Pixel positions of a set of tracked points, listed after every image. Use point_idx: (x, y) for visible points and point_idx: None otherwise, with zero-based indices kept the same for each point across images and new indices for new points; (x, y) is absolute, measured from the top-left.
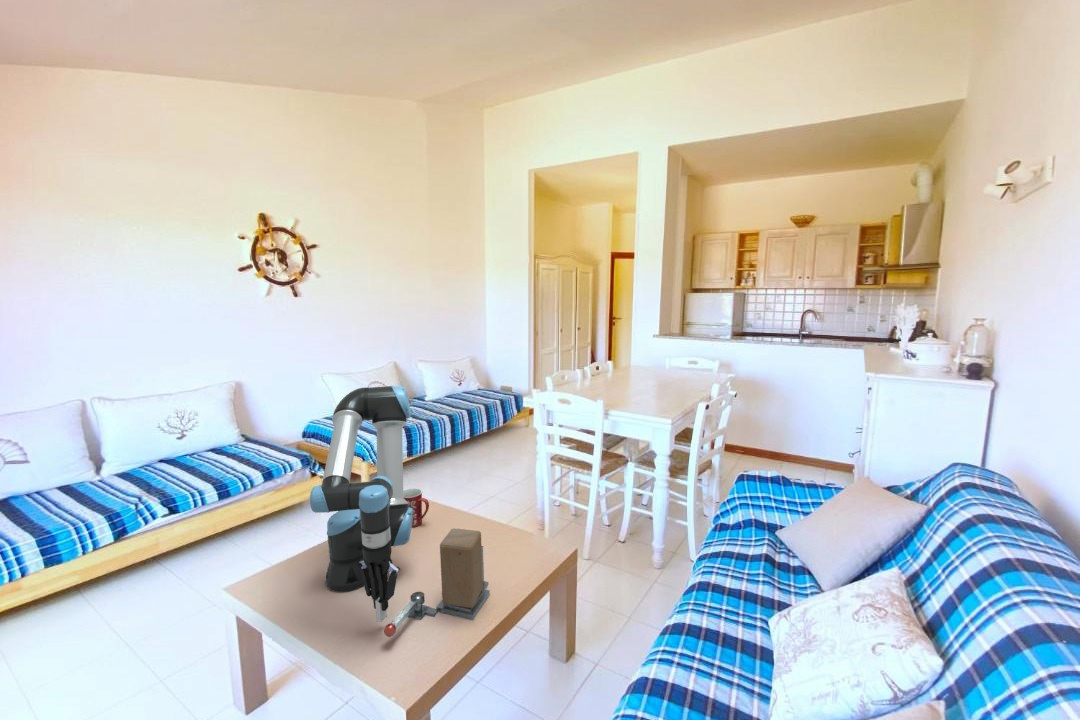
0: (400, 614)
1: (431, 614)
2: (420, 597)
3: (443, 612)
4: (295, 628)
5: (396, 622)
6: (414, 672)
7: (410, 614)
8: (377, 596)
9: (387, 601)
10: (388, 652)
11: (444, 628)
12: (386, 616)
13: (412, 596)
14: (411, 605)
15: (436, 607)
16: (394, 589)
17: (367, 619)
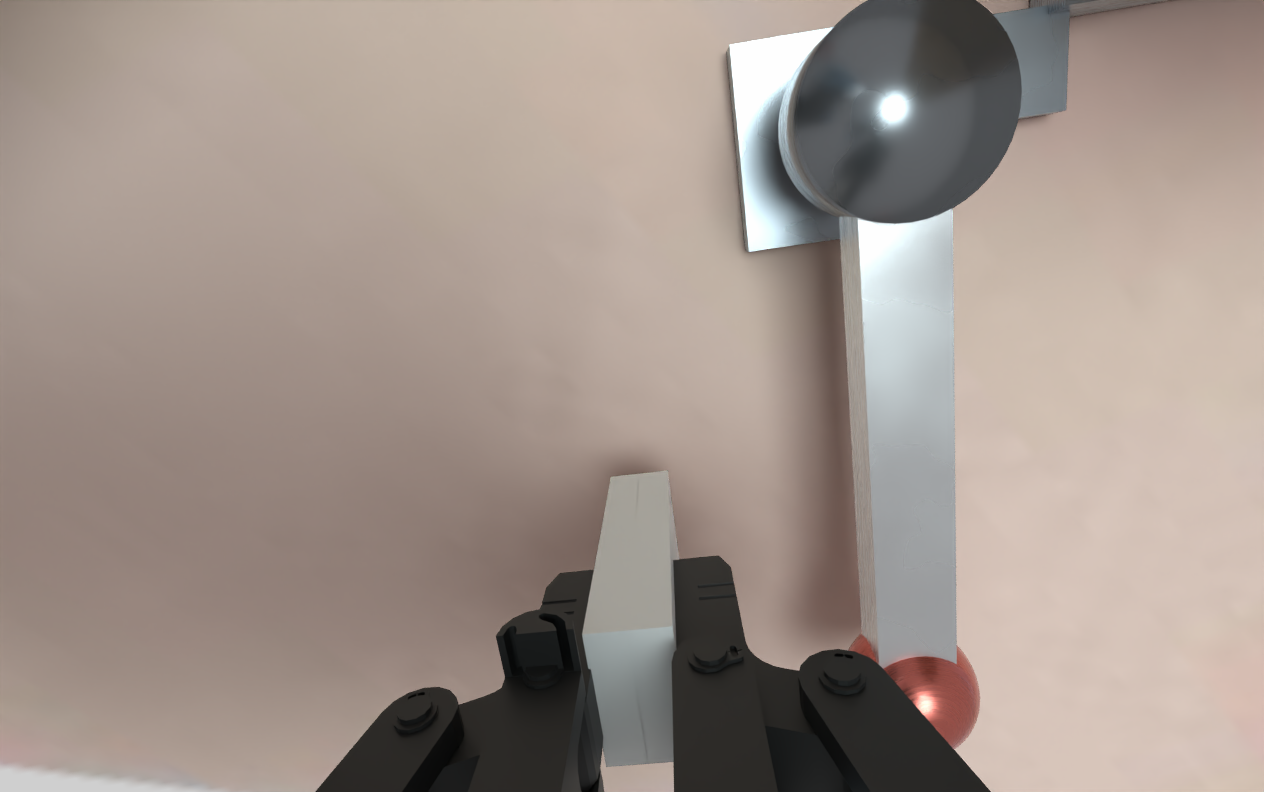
0: (897, 507)
1: (1024, 117)
2: (981, 120)
3: (1135, 3)
4: (32, 736)
5: (939, 625)
6: (1208, 711)
7: (799, 236)
8: (595, 750)
9: (742, 630)
10: None
11: (1247, 215)
12: (668, 481)
13: (841, 159)
14: (932, 314)
15: (1066, 7)
16: (970, 781)
17: (428, 444)
